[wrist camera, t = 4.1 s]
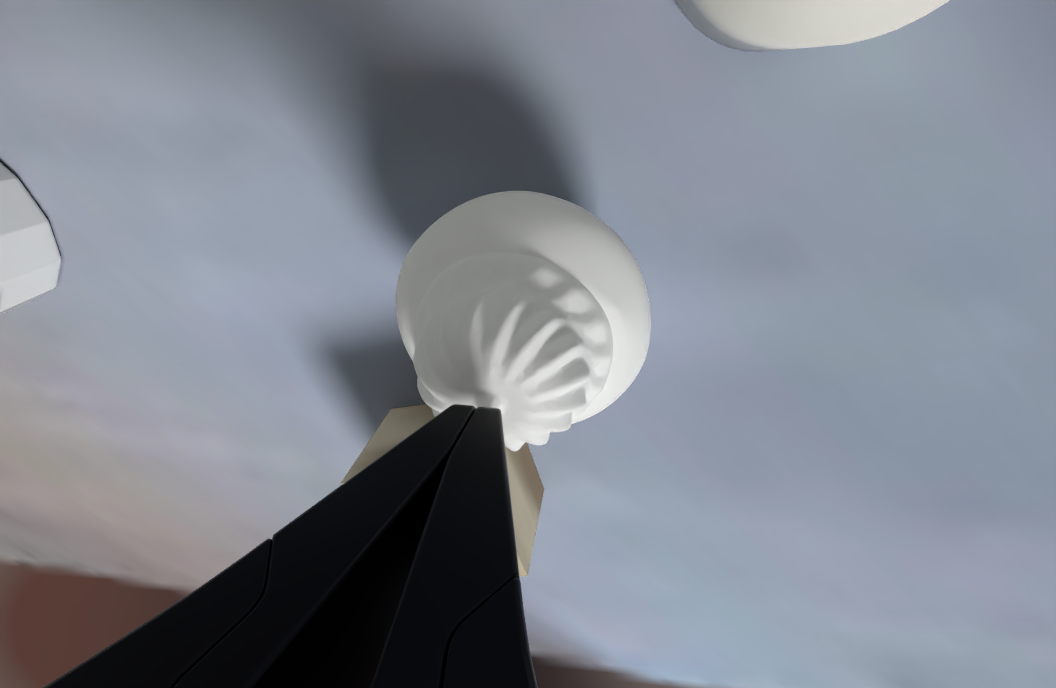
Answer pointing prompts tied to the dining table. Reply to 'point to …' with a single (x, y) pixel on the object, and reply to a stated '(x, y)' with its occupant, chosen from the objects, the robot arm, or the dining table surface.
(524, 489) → the maple block
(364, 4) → the dining table surface
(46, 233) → the white cup
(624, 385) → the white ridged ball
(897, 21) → the white rounded lump
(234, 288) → the dining table surface
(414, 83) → the dining table surface
